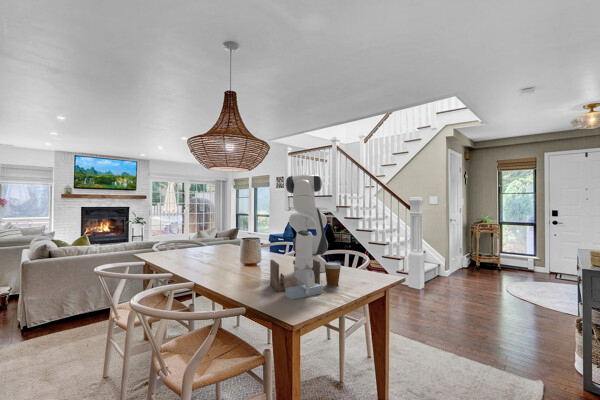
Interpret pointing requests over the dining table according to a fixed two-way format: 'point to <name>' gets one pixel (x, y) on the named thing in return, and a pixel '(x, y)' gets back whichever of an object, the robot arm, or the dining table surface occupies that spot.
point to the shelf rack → (286, 284)
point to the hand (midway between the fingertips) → (303, 291)
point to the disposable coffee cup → (332, 273)
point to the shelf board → (302, 291)
